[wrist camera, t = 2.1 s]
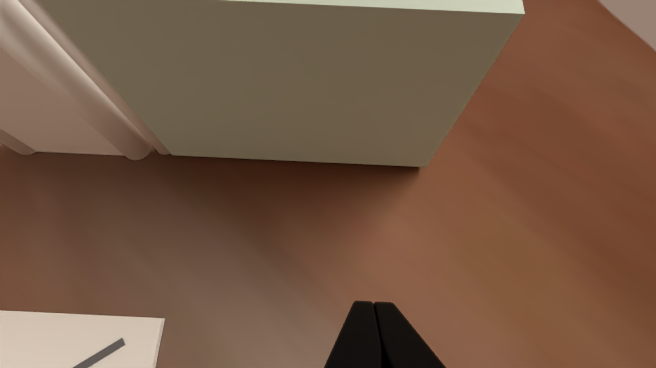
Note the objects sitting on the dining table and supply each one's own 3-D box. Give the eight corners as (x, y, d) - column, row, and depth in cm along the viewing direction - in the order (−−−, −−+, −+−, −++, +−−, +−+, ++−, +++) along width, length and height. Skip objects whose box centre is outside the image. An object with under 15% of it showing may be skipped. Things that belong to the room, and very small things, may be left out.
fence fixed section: (10, 154, 23) (-325, -34, 11) (21, 129, 24) (-286, -73, 12) (148, 161, 23) (-39, -21, 11) (154, 136, 24) (-16, -61, 12)
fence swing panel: (154, 154, 23) (-3, -10, 12) (158, 137, 23) (11, -36, 12) (426, 167, 23) (524, 13, 12) (425, 150, 23) (519, -14, 12)
